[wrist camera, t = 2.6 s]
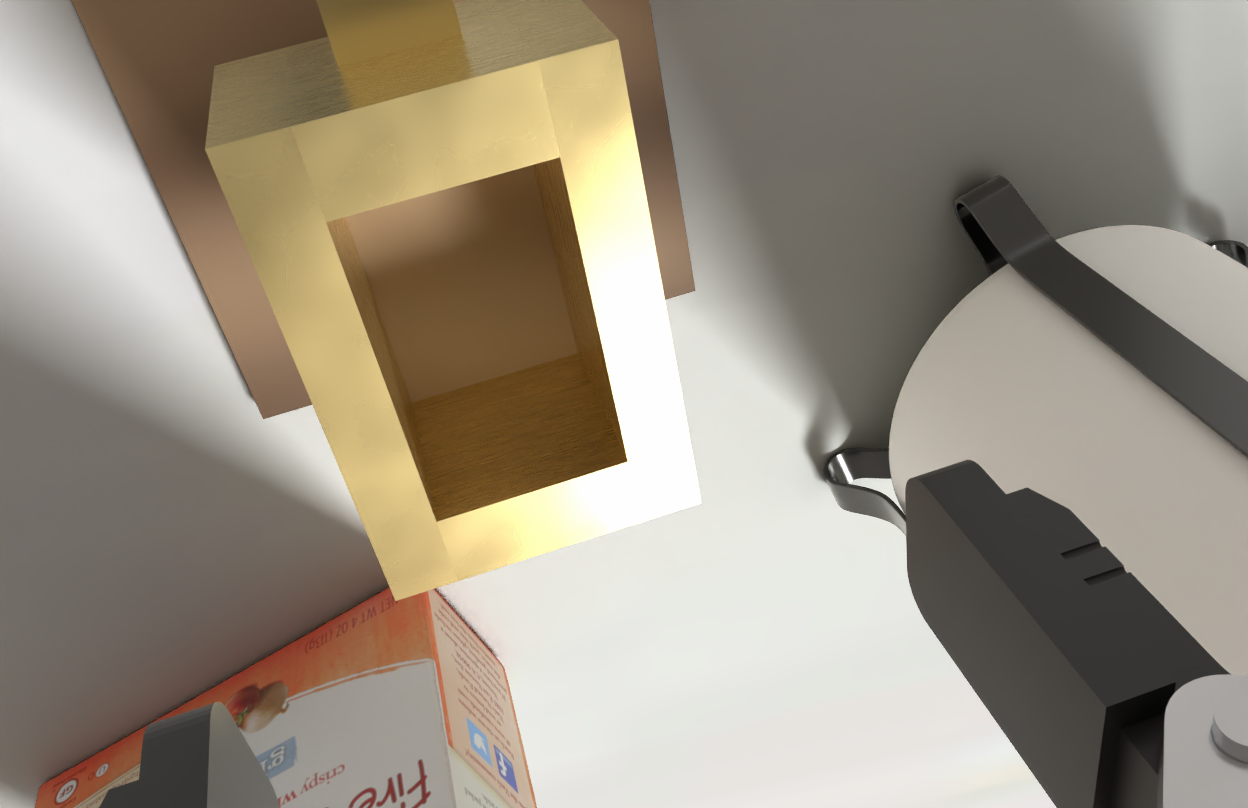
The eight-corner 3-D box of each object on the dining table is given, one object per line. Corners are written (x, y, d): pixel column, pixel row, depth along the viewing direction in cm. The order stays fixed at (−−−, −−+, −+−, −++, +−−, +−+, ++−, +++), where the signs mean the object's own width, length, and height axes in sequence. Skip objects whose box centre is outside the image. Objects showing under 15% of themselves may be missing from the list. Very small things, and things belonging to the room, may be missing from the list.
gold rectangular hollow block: (643, 393, 25) (700, 503, 21) (377, 475, 24) (395, 601, 21) (539, -116, 18) (599, -70, 15) (177, -26, 18) (160, 42, 15)
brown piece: (689, 282, 31) (776, 407, 26) (263, 408, 30) (264, 568, 24) (611, -196, 24) (710, -158, 19) (49, -61, 23) (-14, 22, 17)
